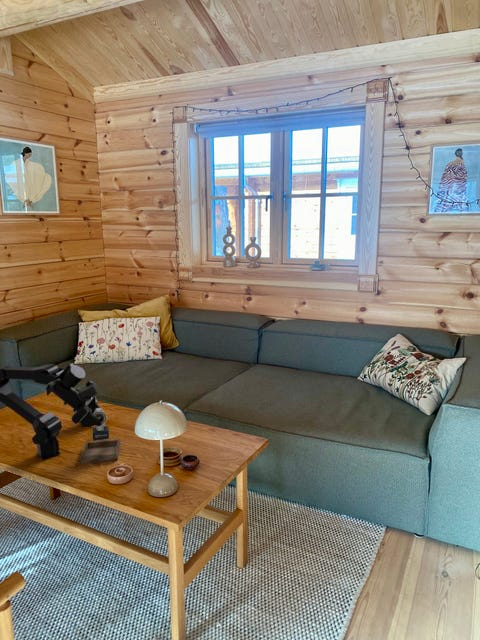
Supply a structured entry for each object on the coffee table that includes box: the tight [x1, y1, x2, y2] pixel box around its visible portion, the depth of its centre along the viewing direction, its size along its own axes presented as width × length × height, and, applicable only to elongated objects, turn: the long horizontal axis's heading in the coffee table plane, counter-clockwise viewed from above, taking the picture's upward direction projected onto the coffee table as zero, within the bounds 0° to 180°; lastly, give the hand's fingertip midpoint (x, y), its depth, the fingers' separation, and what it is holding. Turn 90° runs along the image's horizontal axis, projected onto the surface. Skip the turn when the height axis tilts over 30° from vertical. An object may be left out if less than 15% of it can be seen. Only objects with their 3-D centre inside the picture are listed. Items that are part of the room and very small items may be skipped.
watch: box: [92, 407, 110, 441], centre depth 170 cm, size 6×8×11 cm
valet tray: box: [80, 438, 122, 465], centre depth 172 cm, size 13×12×3 cm
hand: (102, 420), depth 170 cm, fingers closed on watch, 8 cm apart
